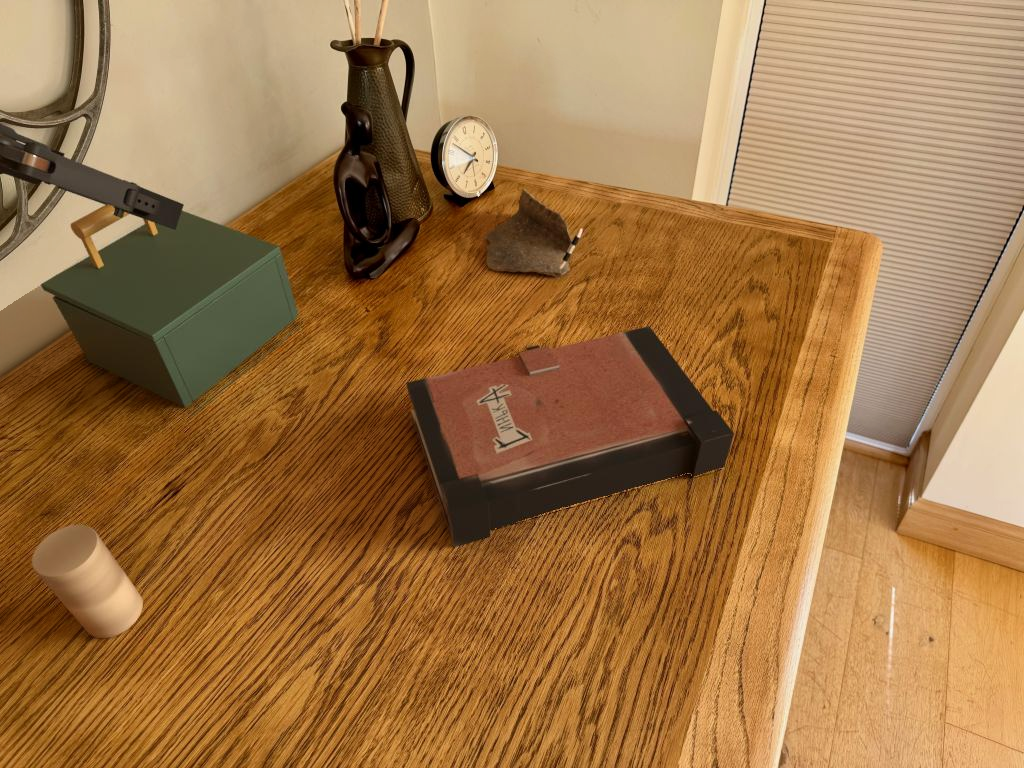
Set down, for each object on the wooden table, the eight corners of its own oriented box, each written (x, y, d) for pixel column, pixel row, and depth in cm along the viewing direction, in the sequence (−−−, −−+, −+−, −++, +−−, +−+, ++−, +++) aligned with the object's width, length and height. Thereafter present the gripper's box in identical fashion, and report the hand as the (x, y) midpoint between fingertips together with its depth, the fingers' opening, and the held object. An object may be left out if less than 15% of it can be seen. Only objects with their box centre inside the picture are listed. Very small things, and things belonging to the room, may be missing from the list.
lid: (43, 290, 73) (14, 238, 68) (175, 213, 83) (158, 164, 79) (154, 342, 67) (131, 289, 63) (281, 252, 78) (268, 201, 74)
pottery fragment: (478, 264, 103) (457, 238, 99) (537, 209, 103) (517, 182, 99) (536, 317, 90) (514, 291, 87) (603, 255, 90) (584, 225, 86)
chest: (93, 370, 80) (51, 297, 73) (209, 289, 90) (183, 218, 83) (189, 417, 74) (155, 343, 67) (301, 325, 85) (281, 252, 78)
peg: (72, 622, 58) (17, 560, 51) (118, 580, 60) (71, 515, 54) (109, 648, 56) (57, 586, 50) (155, 603, 59) (110, 539, 53)
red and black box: (641, 354, 80) (646, 318, 77) (723, 469, 68) (734, 433, 64) (409, 410, 74) (404, 374, 71) (454, 547, 62) (449, 512, 59)
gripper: (-197, 129, 56) (73, 216, 78) (-43, 190, 49) (208, 268, 70) (-169, 36, 56) (94, 150, 77) (-9, 84, 49) (233, 195, 70)
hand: (148, 206), depth 74 cm, fingers open, 7 cm apart
